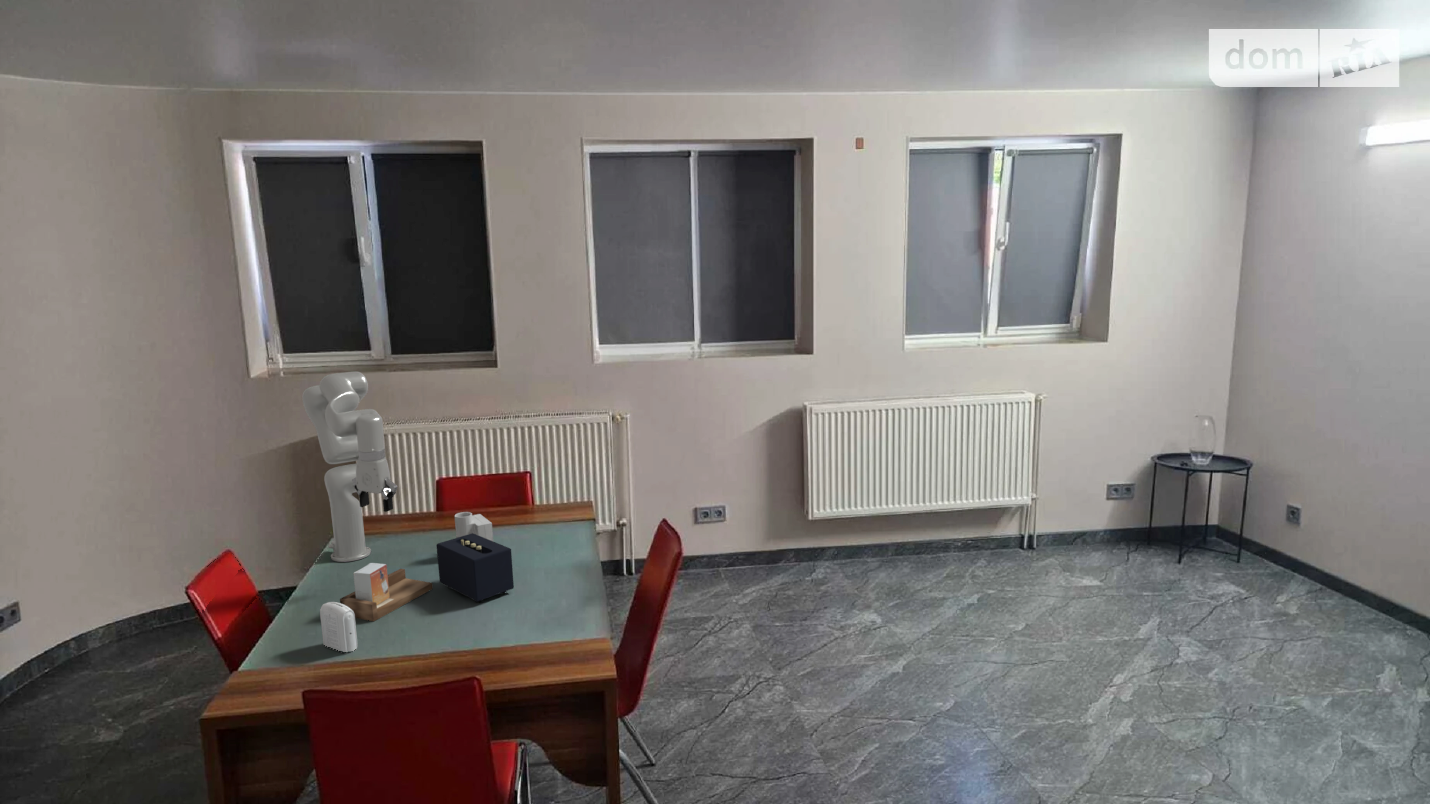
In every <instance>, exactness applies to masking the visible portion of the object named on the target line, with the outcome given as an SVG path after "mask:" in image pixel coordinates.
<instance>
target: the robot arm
mask: <svg viewBox="0 0 1430 804" xmlns="http://www.w3.org/2000/svg"><path fill="white" fill-rule="evenodd" d="M368 392H369V382H368V380H367V377H366V375H364V374H363V373H362V372H360V371H346V372H337V373H335V372H334V373H329V374H328V375H325V376H324V377H322V379H320V382H319V384H318V385H312V386H310V387H307V388H306V389H304V391H303V393H302V397H301V398H302V405H303V408H304V410H305V413H306V414H307V417H308V418H309V420H310V421H311V423H312V425H313V426H314V429H315V431H316V434H317V438H318V443H319V447H320V450H321V454H322V457H323V459H324V462H325V463H327V464H329V465H339V464H345V463H350V462H356V463H352V464H346V465H340V466H336V467H333V468H330V469H329V470H327V471H326V472H325V473H324V478H323V479H324V485H325V489H326V492H327V495H328V500H329V507H330V514H331V515H330V516H331V521H332V523H331V525H332V531H333V540H332V541H331V542H330V543H329V544H328V549H333V552H332V553H331V554H330V557H331V561H333V562H338V563H348V562H354V561H359V560H362V559H364V558H367V557H369V556H370V555H371V554H372V549H371V548H370V547H368V546H366V538H365V529H364V518H363V509H362V508H364V507H366V506H369V505H370V496H369V495H370V494H375V495H376V494H381V496H382V497H383V498H384V499H382V505H383V512H385V513H387V512H389V511H392V510H393V509H394V503H393V502H394V501H393V498H394V497H395V495H396V494H397V490H398V485H397V484H396V483H395V482H393V480H391V472H390V466H389V464H388V460H387V457H386V448H385V445H386V444H385V437H384V436H385V434H384V423H383V422H384V421H383V417H382V416H381V415H380V414H379V412H377V410H376V409H373V408H365V409H357V408H358V407H359V404H360V402H361V401H362V400H363V399H364V398H365V396H366V395H367V394H368ZM356 409H357V410H356ZM353 493H357V495H358V498H356V497H355V496H354V495H353ZM369 493H370V494H369Z"/></svg>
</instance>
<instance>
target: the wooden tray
mask: <svg viewBox="0 0 1430 804" xmlns="http://www.w3.org/2000/svg"><path fill="white" fill-rule="evenodd" d="M387 575H388V586H389V598H388V599H386V600H385V601H383V602H381V603H380V604H378V605H377V604H376V602H370V601H365V600H360V599H356V594H355V591H352V592H351V593H349V594H347V595H345V596H343V597H341V598H339V603H341V604H343V605H346V606H347V607H349V608H350V609H351V610H352V611H353V612H354V614H355V619H359V620H365V621H368V620H369V621H370V622H375V621H377V620H380V618H383V617H385V616H387V615H388V614H390V613H392V612H394V611H395V610H398V609H399V608H401V607H402V606H404V605H406V604H408V603H410V602H411V600H412V601H414V600H415V599H418V598H419V597H421V596H422V595H424V594H427V593H428V592H430V591H431V590H433V582H430V581H424V580H419V579H412V578H407V576H406V569H405V568H399V569H397V570H395V571H393V572H391V573H389V574H387ZM429 590H430V591H429ZM369 621H368V622H369Z"/></svg>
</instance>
